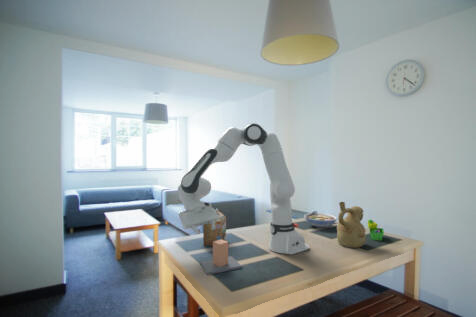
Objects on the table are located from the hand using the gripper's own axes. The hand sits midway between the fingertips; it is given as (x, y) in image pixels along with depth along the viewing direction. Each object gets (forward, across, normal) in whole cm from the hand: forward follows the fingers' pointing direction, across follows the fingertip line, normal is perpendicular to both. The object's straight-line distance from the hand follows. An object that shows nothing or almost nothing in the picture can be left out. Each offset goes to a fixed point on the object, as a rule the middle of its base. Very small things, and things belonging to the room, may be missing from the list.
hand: (206, 231), depth 123 cm
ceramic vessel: (+40, +71, -18) cm, 83 cm away
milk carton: (-1, +17, +20) cm, 26 cm away
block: (+17, -1, 0) cm, 17 cm away
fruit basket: (+45, +94, -22) cm, 107 cm away
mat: (+18, -2, +1) cm, 18 cm away
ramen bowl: (+19, +93, +3) cm, 95 cm away
